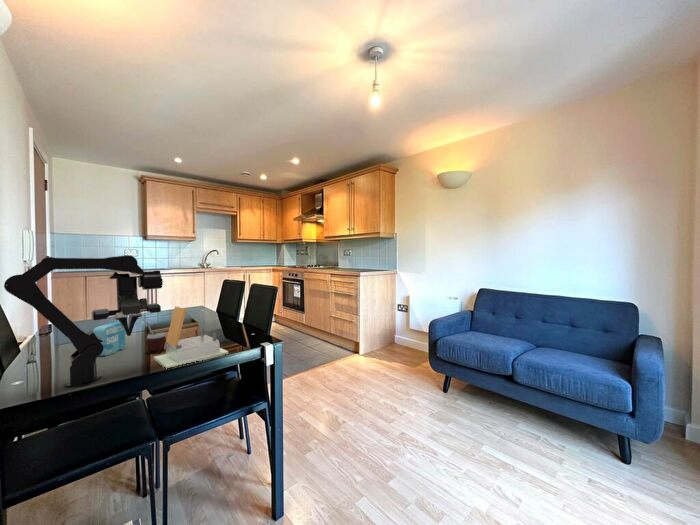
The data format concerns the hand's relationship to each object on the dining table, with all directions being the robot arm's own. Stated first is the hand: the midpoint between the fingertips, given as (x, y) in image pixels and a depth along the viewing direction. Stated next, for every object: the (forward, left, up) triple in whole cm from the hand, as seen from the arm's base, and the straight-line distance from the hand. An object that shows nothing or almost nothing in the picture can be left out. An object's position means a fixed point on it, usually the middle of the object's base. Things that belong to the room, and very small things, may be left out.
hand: (128, 335), depth 102 cm
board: (+13, -15, -13) cm, 24 cm away
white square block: (+13, -16, -11) cm, 24 cm away
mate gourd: (+22, +3, -13) cm, 26 cm away
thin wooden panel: (+10, -12, +1) cm, 15 cm away
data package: (+26, +23, -13) cm, 37 cm away
